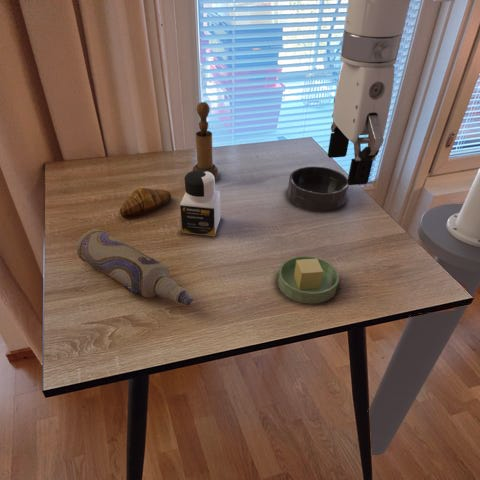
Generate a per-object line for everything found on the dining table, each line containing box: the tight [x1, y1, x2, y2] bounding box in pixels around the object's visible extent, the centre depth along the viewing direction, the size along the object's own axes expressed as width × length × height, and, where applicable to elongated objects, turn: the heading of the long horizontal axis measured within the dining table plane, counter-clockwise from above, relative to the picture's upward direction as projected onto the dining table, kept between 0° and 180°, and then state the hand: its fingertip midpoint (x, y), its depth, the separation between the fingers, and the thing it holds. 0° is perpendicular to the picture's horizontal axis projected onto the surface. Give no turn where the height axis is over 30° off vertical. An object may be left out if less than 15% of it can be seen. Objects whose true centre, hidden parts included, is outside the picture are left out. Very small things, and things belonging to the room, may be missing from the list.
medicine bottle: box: [179, 170, 221, 237], centre depth 87 cm, size 7×7×12 cm
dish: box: [277, 255, 340, 305], centre depth 78 cm, size 11×11×2 cm
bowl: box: [287, 165, 350, 213], centre depth 101 cm, size 14×14×4 cm
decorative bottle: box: [75, 228, 194, 306], centre depth 75 cm, size 26×8×7 cm, turn 52°
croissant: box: [119, 187, 172, 218], centre depth 95 cm, size 14×7×5 cm, turn 134°
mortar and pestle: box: [192, 101, 219, 182], centre depth 102 cm, size 7×6×18 cm
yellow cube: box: [294, 257, 323, 290], centre depth 77 cm, size 4×4×4 cm
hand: (346, 169), depth 68 cm, fingers open, 9 cm apart
